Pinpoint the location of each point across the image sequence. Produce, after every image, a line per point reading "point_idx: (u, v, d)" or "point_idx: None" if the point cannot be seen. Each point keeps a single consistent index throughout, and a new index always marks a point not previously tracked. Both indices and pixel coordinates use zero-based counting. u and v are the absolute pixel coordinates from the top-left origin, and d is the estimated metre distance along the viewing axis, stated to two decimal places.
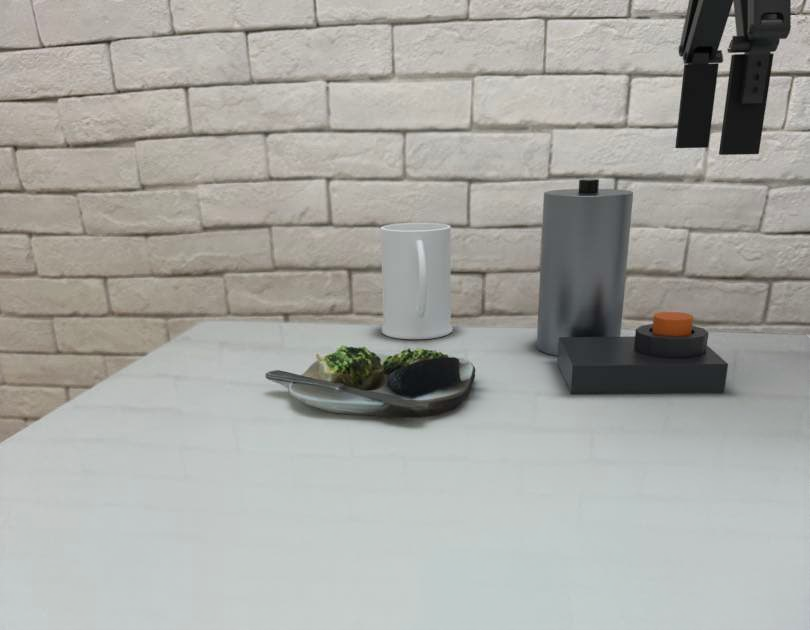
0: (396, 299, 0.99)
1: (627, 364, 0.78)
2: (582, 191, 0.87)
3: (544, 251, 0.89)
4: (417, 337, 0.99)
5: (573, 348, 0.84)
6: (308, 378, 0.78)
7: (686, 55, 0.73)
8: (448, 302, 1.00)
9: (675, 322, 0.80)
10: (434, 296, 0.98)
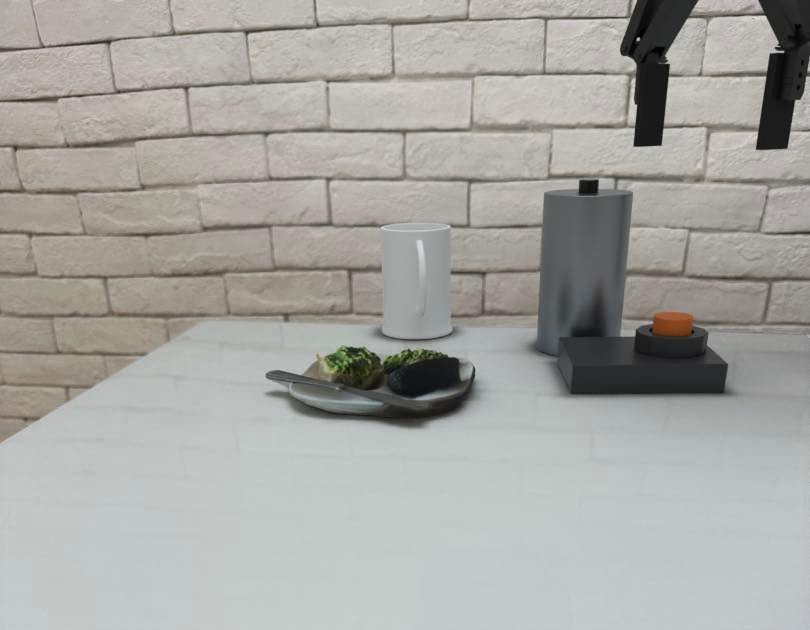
0: (396, 299, 0.99)
1: (627, 364, 0.78)
2: (582, 191, 0.87)
3: (544, 251, 0.89)
4: (417, 337, 0.99)
5: (573, 348, 0.84)
6: (308, 378, 0.78)
7: (641, 55, 0.74)
8: (448, 302, 1.00)
9: (675, 322, 0.80)
10: (434, 296, 0.98)
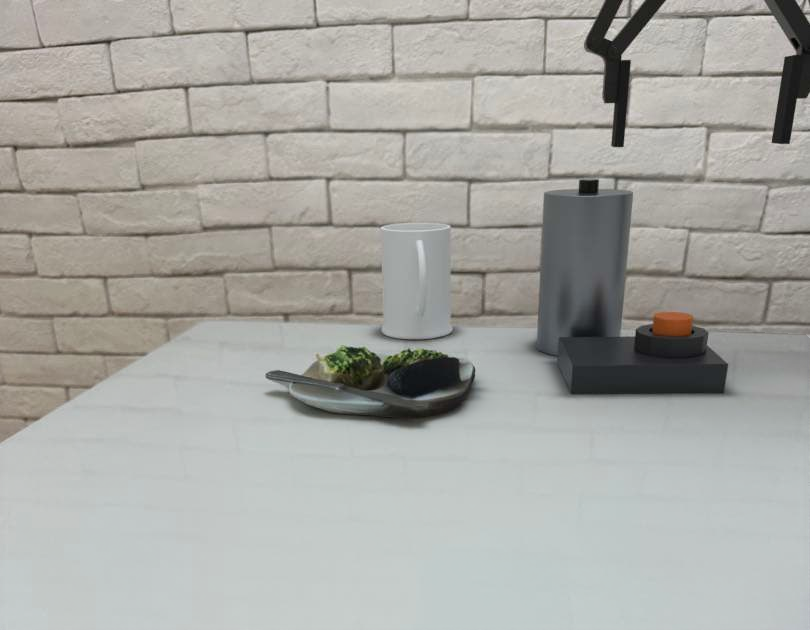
0: (396, 299, 0.99)
1: (627, 364, 0.78)
2: (582, 191, 0.87)
3: (544, 251, 0.89)
4: (417, 337, 0.99)
5: (573, 348, 0.84)
6: (308, 378, 0.78)
7: (621, 50, 0.70)
8: (448, 302, 1.00)
9: (675, 322, 0.80)
10: (434, 296, 0.98)
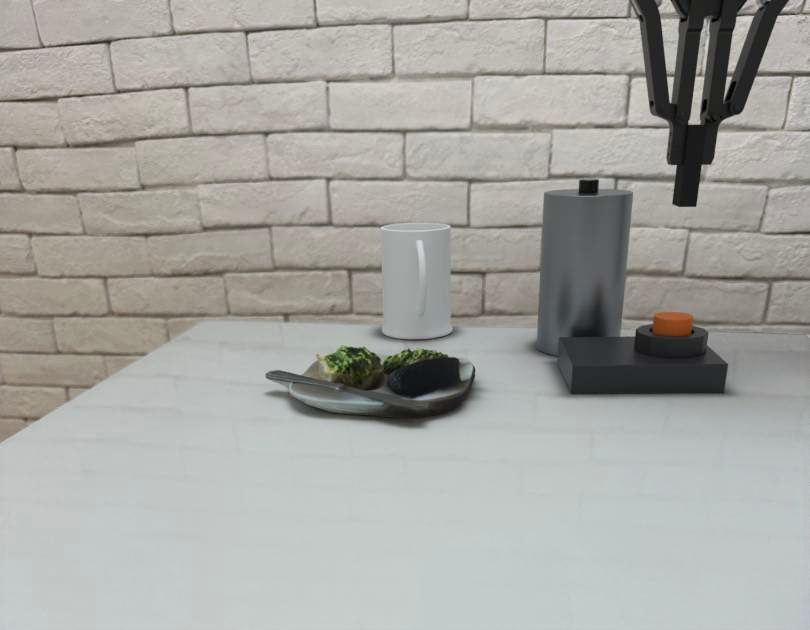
0: (396, 299, 0.99)
1: (627, 364, 0.78)
2: (582, 191, 0.87)
3: (544, 251, 0.89)
4: (417, 337, 0.99)
5: (573, 348, 0.84)
6: (308, 378, 0.78)
7: (688, 112, 0.72)
8: (448, 302, 1.00)
9: (675, 322, 0.80)
10: (434, 296, 0.98)
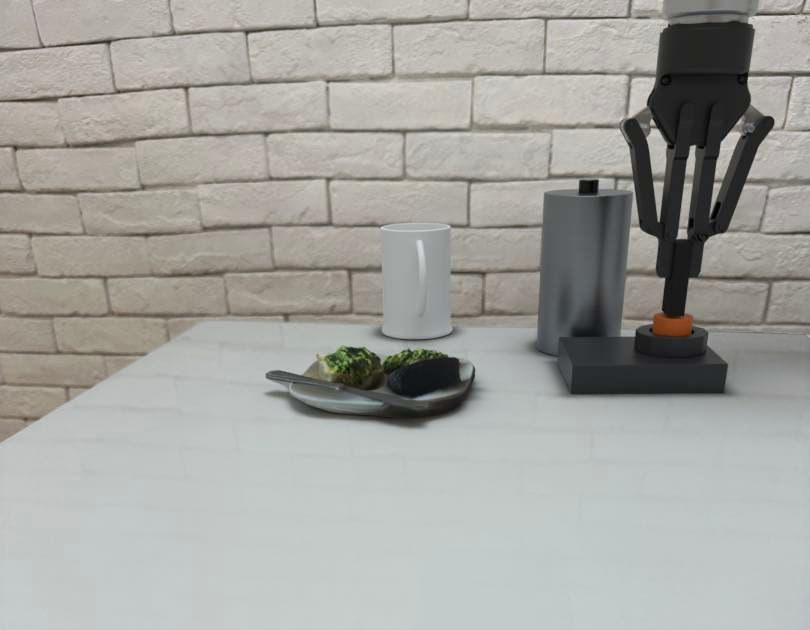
0: (396, 299, 0.99)
1: (627, 364, 0.78)
2: (582, 191, 0.87)
3: (544, 251, 0.89)
4: (417, 337, 0.99)
5: (573, 348, 0.84)
6: (308, 378, 0.78)
7: (675, 231, 0.77)
8: (448, 302, 1.00)
9: (675, 322, 0.80)
10: (434, 296, 0.98)
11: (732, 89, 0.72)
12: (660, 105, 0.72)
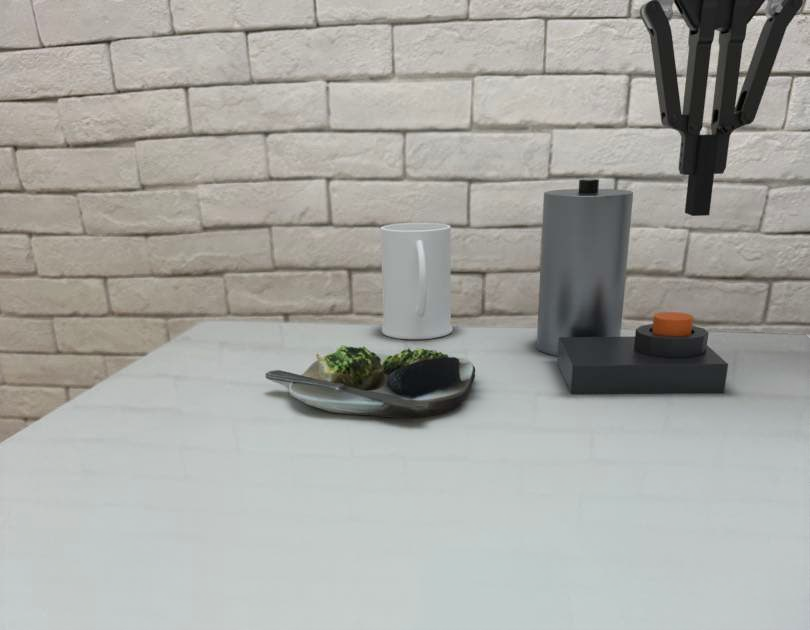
0: (396, 299, 0.99)
1: (627, 364, 0.78)
2: (582, 191, 0.87)
3: (544, 251, 0.89)
4: (417, 337, 0.99)
5: (573, 348, 0.84)
6: (308, 378, 0.78)
7: (699, 123, 0.73)
8: (448, 302, 1.00)
9: (675, 322, 0.80)
10: (434, 296, 0.98)
11: None
12: None
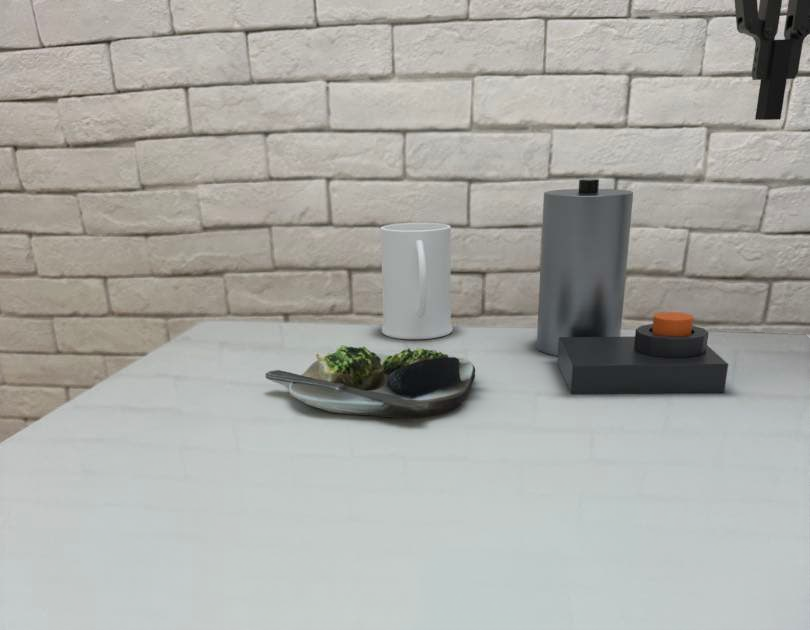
0: (396, 299, 0.99)
1: (627, 364, 0.78)
2: (582, 191, 0.87)
3: (544, 251, 0.89)
4: (417, 337, 0.99)
5: (573, 348, 0.84)
6: (308, 378, 0.78)
7: (775, 27, 0.77)
8: (448, 302, 1.00)
9: (675, 322, 0.80)
10: (434, 296, 0.98)
11: None
12: None
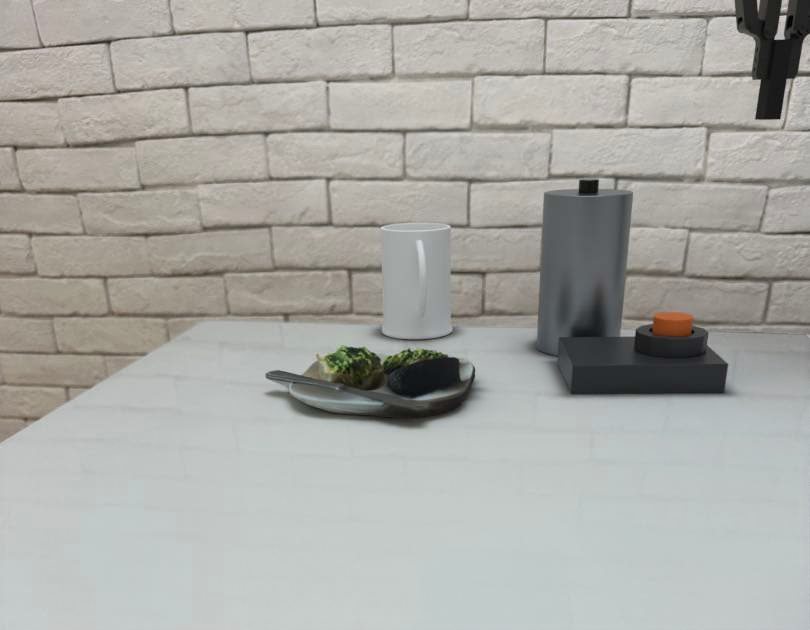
0: (396, 299, 0.99)
1: (627, 364, 0.78)
2: (582, 191, 0.87)
3: (544, 251, 0.89)
4: (417, 337, 0.99)
5: (573, 348, 0.84)
6: (308, 378, 0.78)
7: (775, 27, 0.77)
8: (448, 302, 1.00)
9: (675, 322, 0.80)
10: (434, 296, 0.98)
11: None
12: None
